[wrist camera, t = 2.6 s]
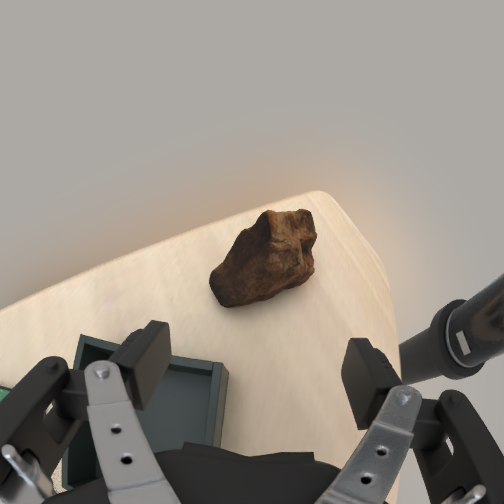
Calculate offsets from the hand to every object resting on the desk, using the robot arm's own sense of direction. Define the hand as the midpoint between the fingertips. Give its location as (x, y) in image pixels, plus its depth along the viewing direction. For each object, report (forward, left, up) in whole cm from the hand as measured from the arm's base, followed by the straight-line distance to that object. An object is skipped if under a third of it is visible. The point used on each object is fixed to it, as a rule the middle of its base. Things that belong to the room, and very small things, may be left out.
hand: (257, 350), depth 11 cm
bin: (+10, +8, -18) cm, 22 cm away
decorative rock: (0, -12, -18) cm, 22 cm away
